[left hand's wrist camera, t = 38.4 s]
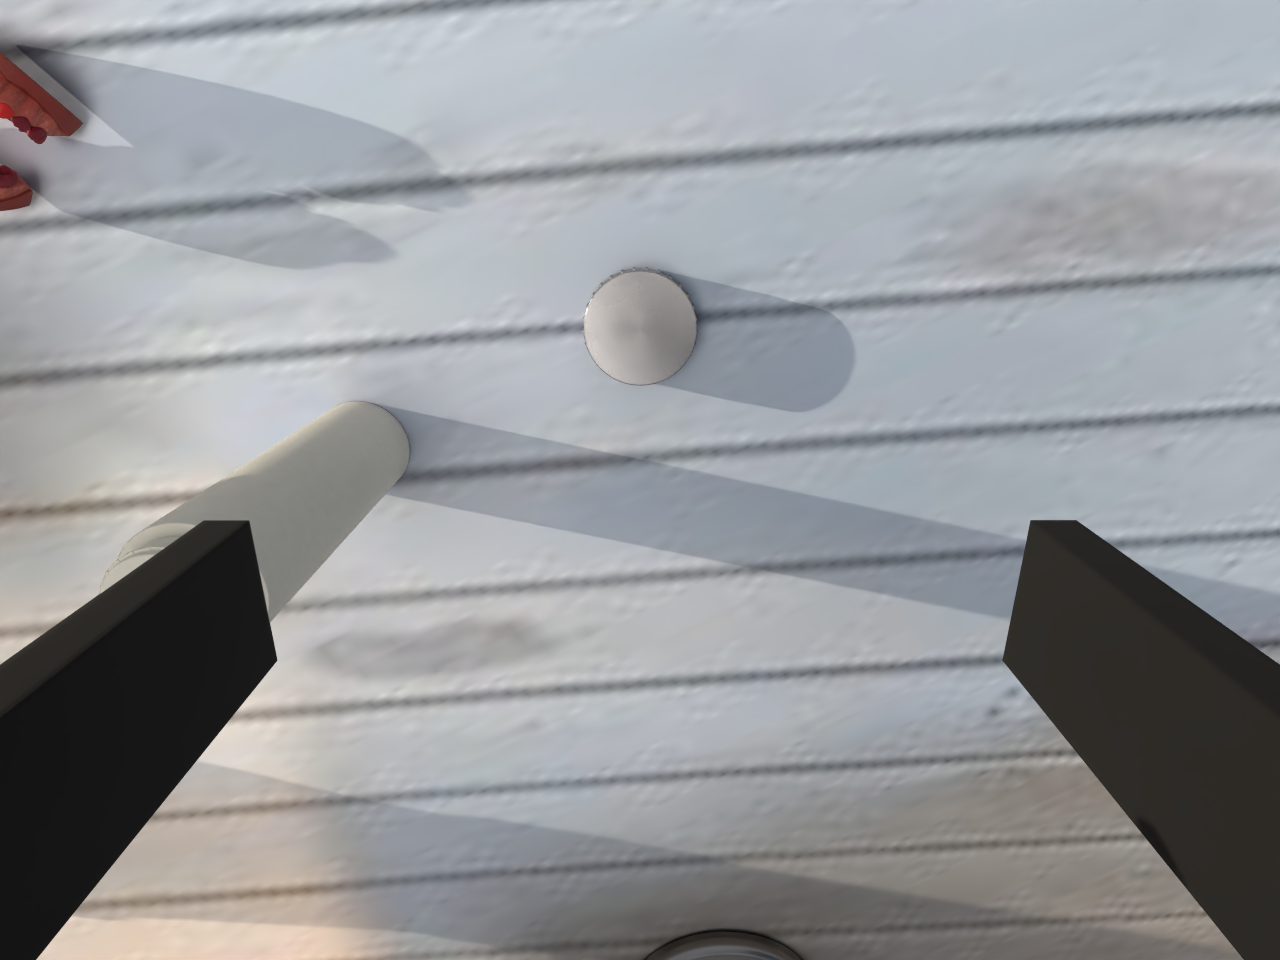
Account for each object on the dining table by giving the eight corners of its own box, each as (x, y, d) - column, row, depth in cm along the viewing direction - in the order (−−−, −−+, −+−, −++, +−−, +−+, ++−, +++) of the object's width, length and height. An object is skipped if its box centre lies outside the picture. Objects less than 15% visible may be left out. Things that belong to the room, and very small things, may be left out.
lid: (602, 392, 42) (600, 399, 40) (570, 284, 40) (567, 287, 38) (707, 363, 41) (710, 370, 39) (680, 253, 39) (682, 254, 37)
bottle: (309, 399, 42) (66, 539, 24) (406, 402, 42) (233, 543, 24) (321, 489, 44) (103, 680, 26) (413, 491, 44) (259, 683, 26)
